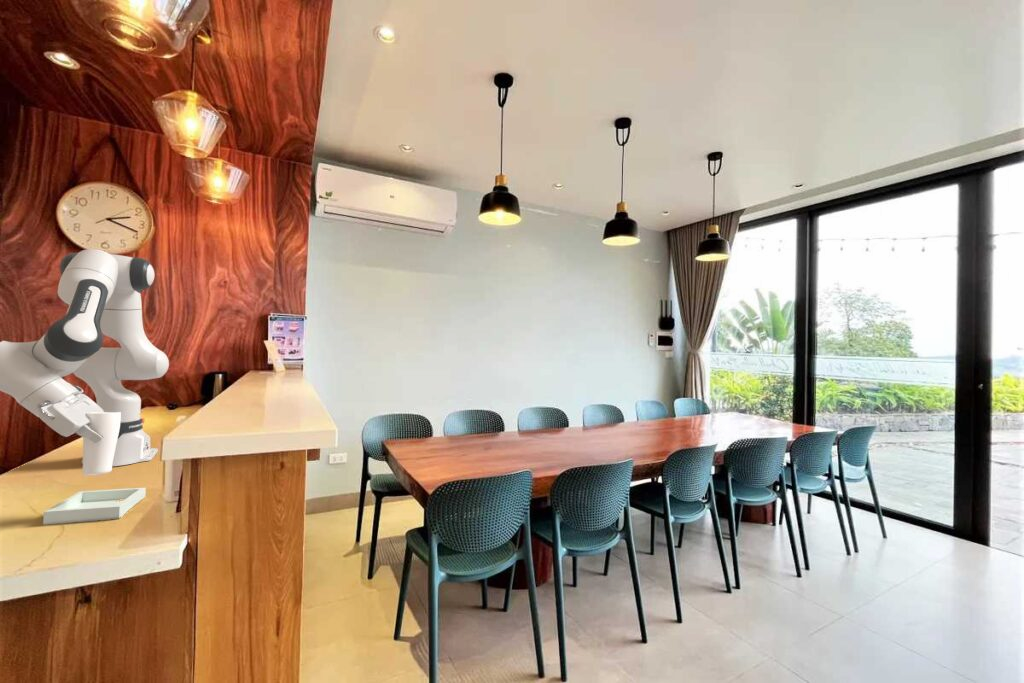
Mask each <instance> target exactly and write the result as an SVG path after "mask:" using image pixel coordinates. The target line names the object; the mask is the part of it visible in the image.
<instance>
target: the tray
mask: <svg viewBox="0 0 1024 683" xmlns="http://www.w3.org/2000/svg"><path fill="white" fill-rule="evenodd" d="M146 490H147V489H146V487H136V488H135V487H131V488H116V489H97V490H82V491H78V492H76V493H74V494H73V495H71V496H69V497H68V498H65V499H64V500H62V501H60V502H59V503H57V504H55V505H53V506H52V507H50V508H47V509H46V510H44V511H43V518H42V519H43V521H42V522H43V524H42V525H44V526H46V525H59V524H71V523H84V522H85V523H86V522H87V523H88V522H97V521H98V520H100V521H111V519H113V520H120V519H121V518H122V517H124V516H125V515H126V514H127V513H128V512H127V511H128V510H129V509H130V508H132V507H133V506H134V505H135V504H136V503H138V502H139V501H140V500H141V499H143V498H144V497H145V498H146V492H147V491H146ZM120 499H125V500H123V501H120V502H119V500H120ZM114 500H116V501H117V500H118V501H117V502H116V501H114ZM126 512H127V513H126ZM125 513H126V514H125ZM124 514H125V515H124ZM123 515H124V516H123ZM120 517H121V518H120ZM119 518H120V519H119ZM98 522H99V521H98Z"/></svg>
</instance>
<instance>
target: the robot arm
mask: <svg viewBox="0 0 1024 683" xmlns="http://www.w3.org/2000/svg"><path fill="white" fill-rule="evenodd" d="M59 270H60V271H59V272H60V279H59V282H58V287H57V295H58V297H59V298H60V299H61V301H62V302H64V303H65V304H66V305H68V308H67V311H66V313H65V315H64V316H63V317H61V318H60V319H58V320H56V321H55V322H53V323H52V324H51V325H50V327H49V328H48V329H47V331H46V332H45V333H44V334H43V335H42V336H41V338H39V340H35V341H26V342H25V341H24V342H15V341H14V342H13V341H7V340H1V341H0V392H2V393H5V394H7V395H9V396H11V397H12V398H14V399H15V401H16V402H17V403H18V404H19V405H20V406H22V407H23V408H25V409H26V410H27V411H29V412H31V414H33V415H34V416H36V417H37V418H39V419H40V420H41V421H42V422H43V423H45V424H46V425H47V426H48V427H49V428H50V429H52V430H53V431H54V432H56V433H58V434H59V435H60V436H63V437H66V438H68V437H70V436H71V435H73V434H76V435H77V436H80V437H82V438H83V437H84V438H87V439H89V440H91V441H92V442H94V443H97V442H99V441H100V440H101V439H102V438H103V436H102V435H101V434H99V433H96V432H95V431H93V430H91V429H90V427H88V426H87V425H86V424H88V423H90V419H89V418H88V417H87V415H86V413H93V412H121V423H120V430H119V435H118V440H117V444H116V449H115V454H114V458H113V464H112V467H118V466H119V467H121V466H127V465H130V464H131V465H132V464H137V463H141V462H148V461H152V460H153V458H154V457H155V455H156V454H157V453H158V452H159V449H158V448H157V447H151V437H150V435H148V434H147V432H146V431H144V430H143V429H144V427H143V424H145V417H141V411H142V410H141V409H142V399H141V396H140V395H139V394H138V393H137V392H134V391H132V390H129V389H127V388H125V387H124V385H123V384H122V381H146V380H153V379H154V380H155V379H159V378H162V377H163V376H164V375H166V373H167V372H168V370H169V366H170V360H169V358H168V356H167V354H166V353H165V352H164V351H162V350H160V349H159V348H158V347H156V346H155V345H153V344H152V342H151V341H150V340H149V338H148V337H147V335H146V332H145V330H144V324H143V323H144V322H143V321H144V320H143V307H142V306H143V305H142V294H141V293H142V292H143V291H146V290H148V289H149V288H150V287H152V285H153V283H154V280H155V275H156V274H155V269H154V267H153V264H152V263H151V262H150V260H148V259H145V258H141V257H137V256H135V257H132V256H127V255H120V254H112V253H109V252H107V251H105V250H102V249H97V248H88V249H87V248H86V249H83V250H80V251H79V252H72V253H68V254H67V255H65V256H63V257H62V259H61V260H60V264H59ZM104 336H106V337H109V338H111V339H113V340H115V341H116V342H117V343H118V344H119V346H120V347H105V346H104V347H103V344H104ZM71 374H73V375H74V376H75V377H76V378H78V379H80V380H83V381H84V383H86V384H87V385H88V386H89V387H90V389H91V390H92V392H93V393H94V397H95V400H96V402H95V401H94V400H93V399H91V398H90V397H89V396H88V395H86V394H84V389H82V387H80V386H79V385H75V384H71V383H70V382H67V381H66V380H65V379H63V378H64V377H67V376H69V375H71ZM81 464H82V465H83V459H82V460H81Z"/></svg>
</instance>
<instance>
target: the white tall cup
mask: <svg viewBox="0 0 1024 683" xmlns="http://www.w3.org/2000/svg"><path fill="white" fill-rule="evenodd" d="M86 415H87V417H88V418H89V419H90V423H88V424H86V425H87V426H88V427H90V429H91V430H93V431H95V432H96V433H99V434H101V435H102V436H103V438H102V439H101V440H100V441H99V442H97V443H94V442H92V441H91V440H89V439H87V438H84V437H82V460H83V464H82V468H81V470H82V471H81V473H82V475H84V476H99V475H106V474H109V473H111V472H112V469H113V466H112V464H113V458H114V454H115V449H116V444H117V440H118V435H119V430H120V423H121V412H93V413H86Z"/></svg>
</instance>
